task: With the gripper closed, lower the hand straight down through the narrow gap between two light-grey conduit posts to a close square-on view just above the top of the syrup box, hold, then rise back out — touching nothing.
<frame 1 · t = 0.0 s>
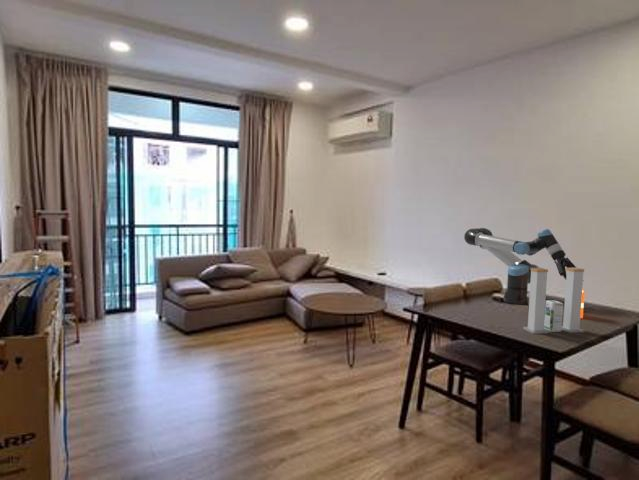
hand: (576, 283, 251), 15 cm above the table, tool tilted 35°, fingers open, 13 cm apart
post a: (571, 329, 209), on the table
post b: (535, 330, 207), on the table
syrup box: (552, 330, 209), on the table
orange juice: (574, 316, 236), on the table
disposable coffee cup: (534, 314, 237), on the table
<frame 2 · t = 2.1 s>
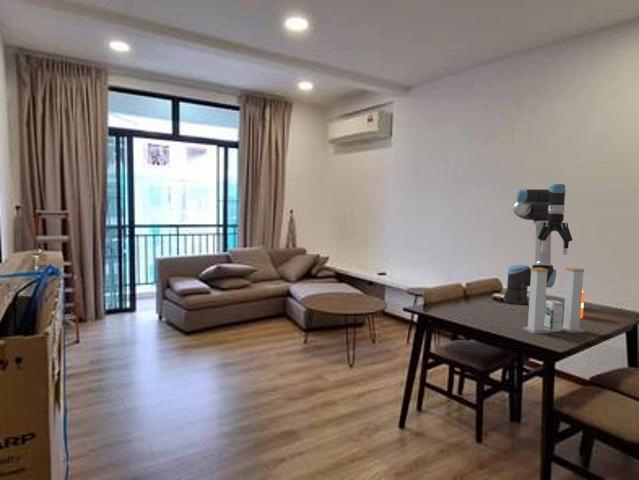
hand: (553, 253, 223), 36 cm above the table, tool pointing down, fingers open, 13 cm apart
nothing on the table moved.
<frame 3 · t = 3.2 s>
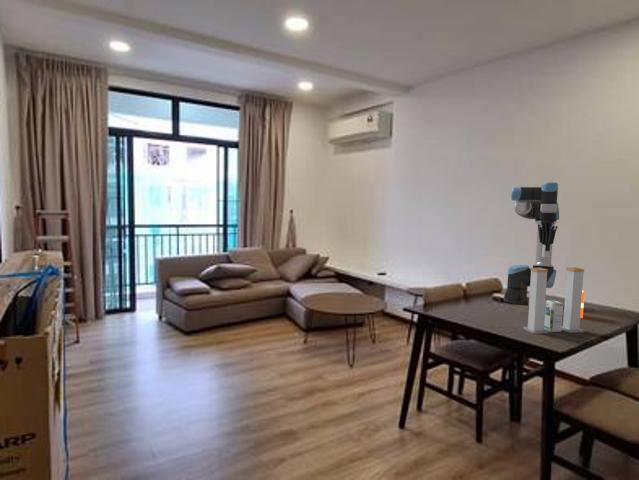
hand: (545, 256, 222), 34 cm above the table, tool pointing down, fingers closed
nothing on the table moved.
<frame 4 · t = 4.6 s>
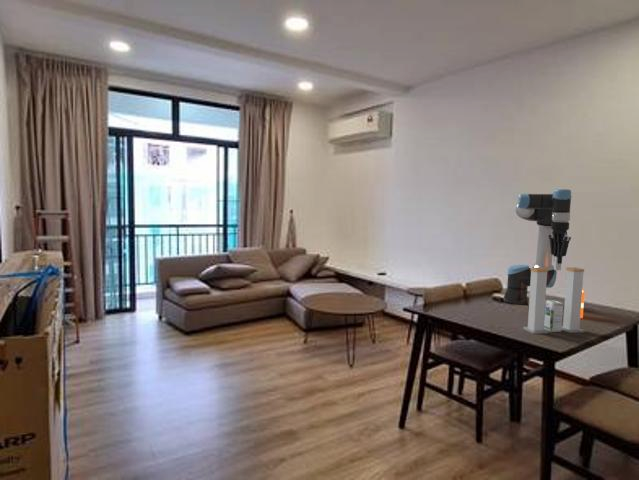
hand: (557, 269, 205), 30 cm above the table, tool pointing down, fingers closed
nothing on the table moved.
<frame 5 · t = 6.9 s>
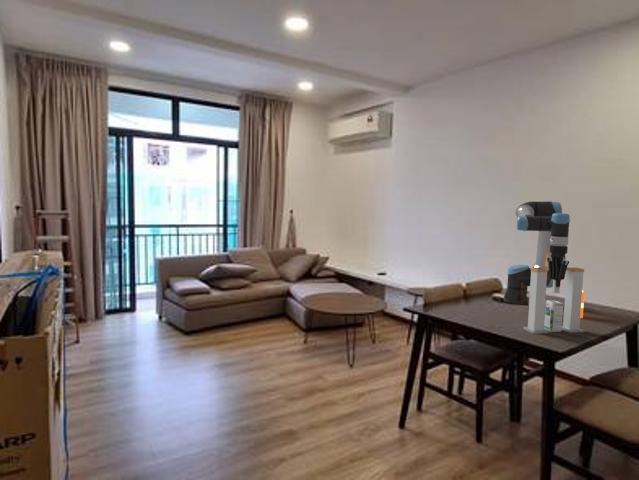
hand: (555, 292, 206), 19 cm above the table, tool pointing down, fingers closed
nothing on the table moved.
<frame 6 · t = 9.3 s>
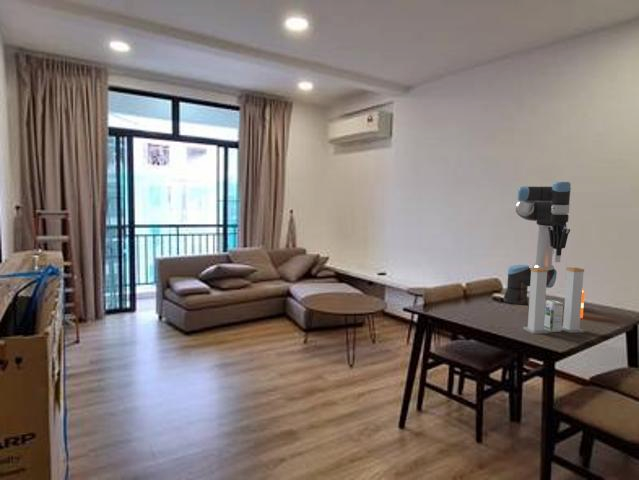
hand: (556, 261, 206), 34 cm above the table, tool pointing down, fingers closed
nothing on the table moved.
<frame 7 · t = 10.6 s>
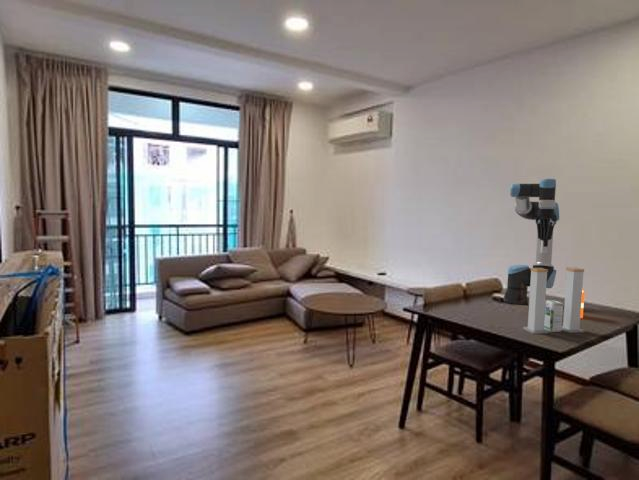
hand: (543, 252, 225), 36 cm above the table, tool pointing down, fingers closed
nothing on the table moved.
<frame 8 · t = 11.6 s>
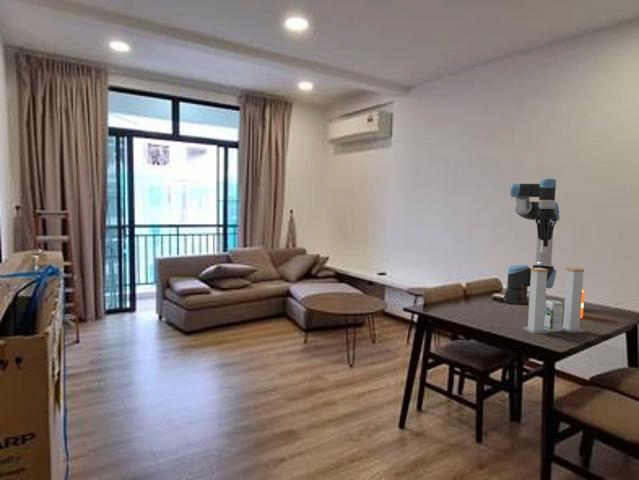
hand: (543, 252, 225), 36 cm above the table, tool pointing down, fingers closed
nothing on the table moved.
at the end: syrup box moved 0.2 cm from its start; post a moved 0.0 cm from its start; post b moved 0.0 cm from its start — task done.
